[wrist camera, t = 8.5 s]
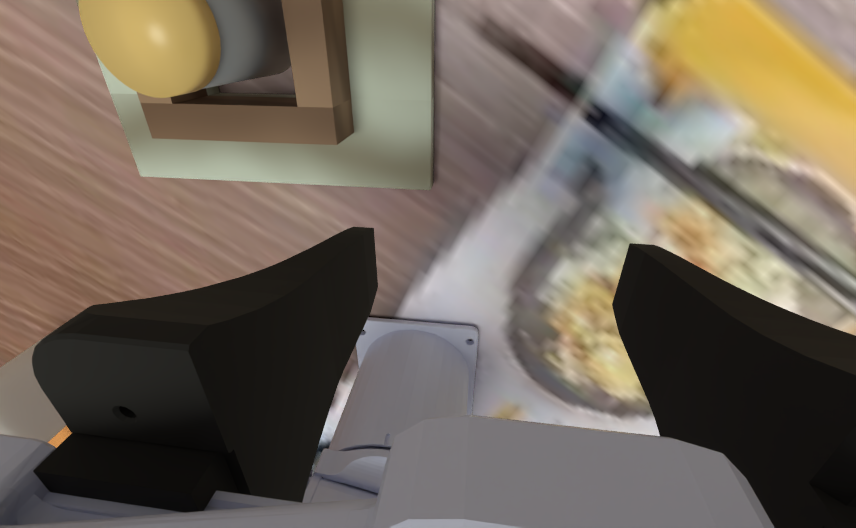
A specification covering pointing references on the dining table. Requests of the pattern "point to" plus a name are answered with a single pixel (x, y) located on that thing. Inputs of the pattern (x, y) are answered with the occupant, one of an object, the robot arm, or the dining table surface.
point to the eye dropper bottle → (26, 402)
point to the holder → (307, 106)
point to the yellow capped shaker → (186, 42)
